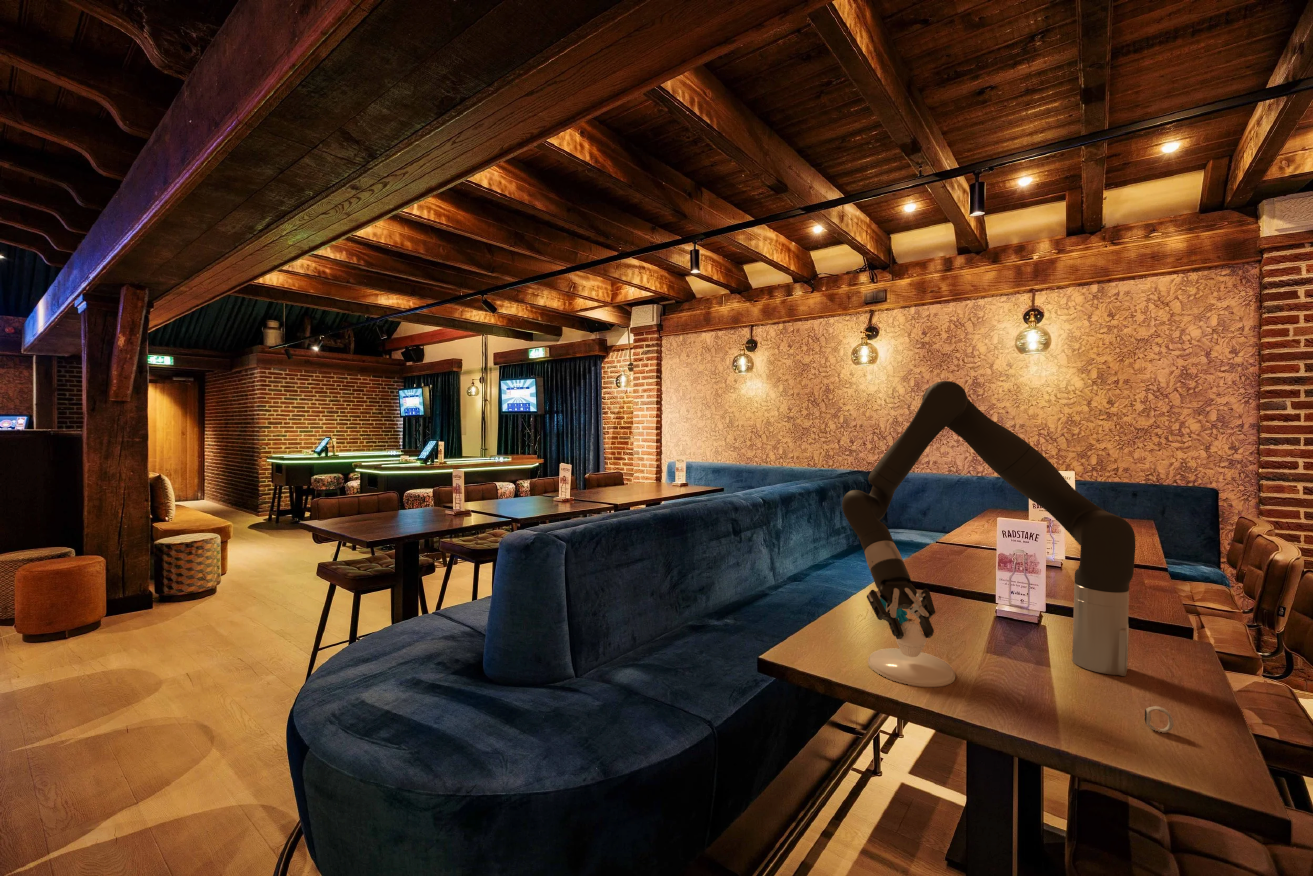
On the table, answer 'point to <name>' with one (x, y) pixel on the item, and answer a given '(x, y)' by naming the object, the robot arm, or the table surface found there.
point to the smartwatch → (1148, 710)
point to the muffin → (911, 639)
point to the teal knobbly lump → (898, 613)
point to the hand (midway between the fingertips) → (915, 636)
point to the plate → (911, 668)
